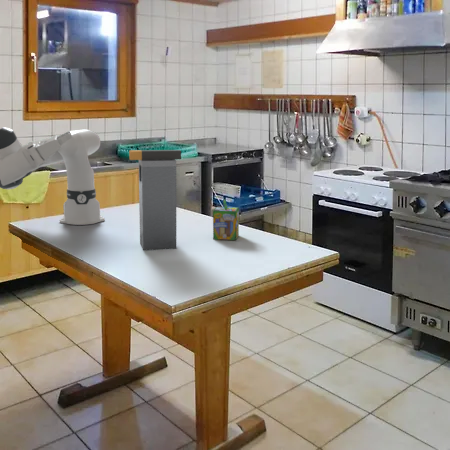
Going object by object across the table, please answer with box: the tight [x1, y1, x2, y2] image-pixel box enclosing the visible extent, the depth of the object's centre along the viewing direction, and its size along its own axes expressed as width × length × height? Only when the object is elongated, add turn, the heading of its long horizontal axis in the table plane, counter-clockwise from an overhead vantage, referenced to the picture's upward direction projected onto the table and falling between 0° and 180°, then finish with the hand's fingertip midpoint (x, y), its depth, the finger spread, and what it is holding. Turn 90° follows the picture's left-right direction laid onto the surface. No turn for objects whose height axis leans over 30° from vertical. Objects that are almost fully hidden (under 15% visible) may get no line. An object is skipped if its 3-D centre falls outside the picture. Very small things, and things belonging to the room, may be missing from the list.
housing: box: [138, 159, 177, 251], centre depth 210 cm, size 10×12×32 cm
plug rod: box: [128, 149, 182, 161], centre depth 206 cm, size 3×18×3 cm, turn 105°
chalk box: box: [212, 199, 240, 241], centre depth 226 cm, size 9×9×15 cm
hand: (70, 134), depth 203 cm, fingers open, 8 cm apart
